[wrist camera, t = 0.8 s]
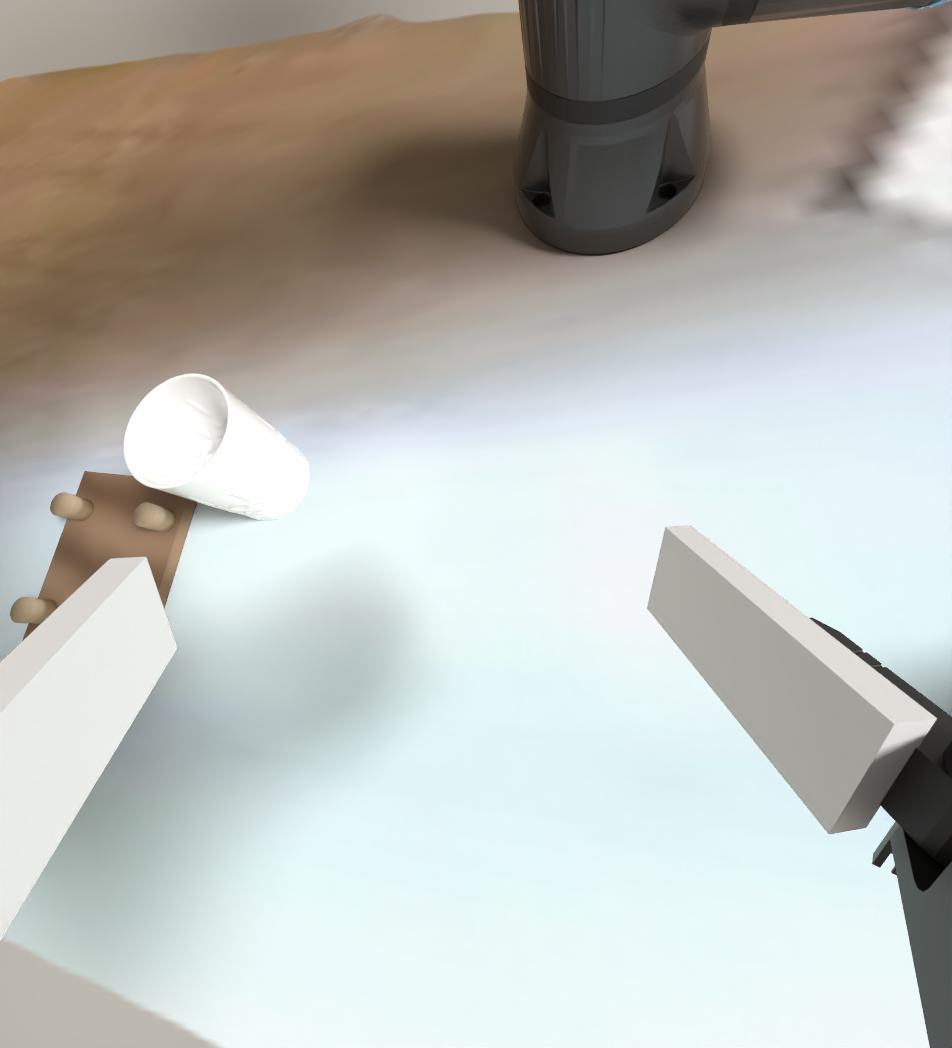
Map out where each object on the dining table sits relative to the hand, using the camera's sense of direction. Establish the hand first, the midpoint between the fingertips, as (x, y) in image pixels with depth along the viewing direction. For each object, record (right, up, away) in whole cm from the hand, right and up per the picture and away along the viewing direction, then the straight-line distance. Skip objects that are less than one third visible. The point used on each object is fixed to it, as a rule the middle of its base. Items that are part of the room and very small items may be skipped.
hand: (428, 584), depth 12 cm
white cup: (-15, +5, +27) cm, 31 cm away
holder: (-29, -2, +28) cm, 40 cm away
